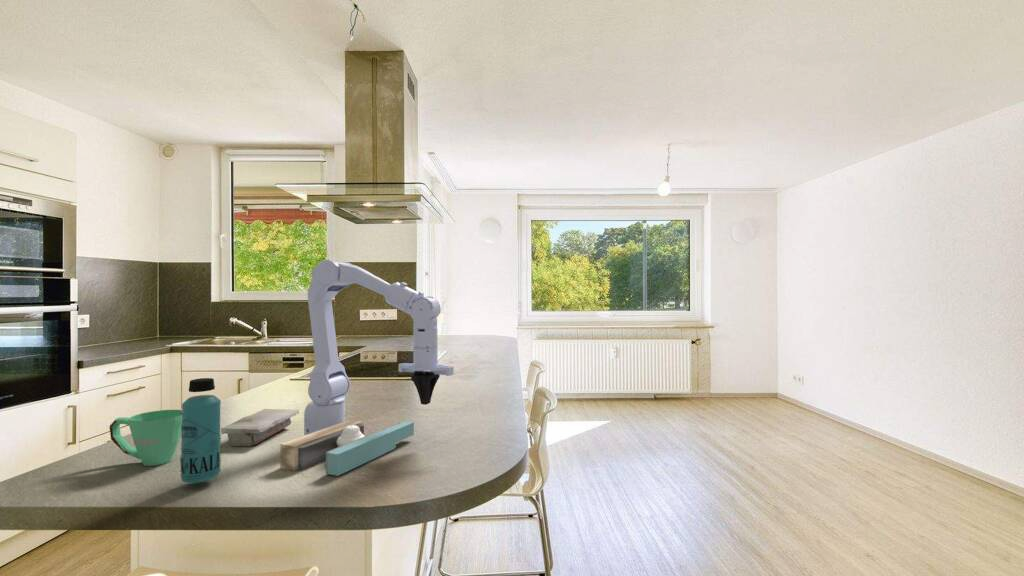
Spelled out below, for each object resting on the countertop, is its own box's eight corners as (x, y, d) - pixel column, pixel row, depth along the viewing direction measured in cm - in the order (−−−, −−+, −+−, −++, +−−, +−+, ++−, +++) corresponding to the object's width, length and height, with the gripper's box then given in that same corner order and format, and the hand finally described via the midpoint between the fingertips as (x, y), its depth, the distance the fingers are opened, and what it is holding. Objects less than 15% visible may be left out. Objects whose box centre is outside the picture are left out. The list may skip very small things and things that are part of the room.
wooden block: (280, 468, 99) (280, 443, 99) (349, 440, 117) (349, 420, 117) (298, 472, 97) (298, 447, 97) (366, 443, 115) (366, 422, 115)
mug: (195, 453, 108) (195, 409, 108) (165, 470, 98) (165, 421, 98) (128, 454, 107) (129, 409, 108) (91, 471, 98) (91, 421, 98)
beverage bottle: (192, 478, 94) (192, 375, 94) (228, 477, 94) (228, 375, 94) (171, 492, 87) (172, 382, 87) (210, 491, 88) (210, 381, 88)
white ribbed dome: (336, 462, 102) (336, 429, 102) (336, 453, 108) (336, 422, 108) (366, 459, 104) (366, 427, 104) (365, 450, 110) (365, 419, 110)
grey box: (218, 448, 112) (259, 449, 112) (218, 427, 112) (259, 428, 112) (264, 425, 130) (300, 426, 130) (264, 407, 130) (299, 408, 130)
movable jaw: (325, 473, 95) (325, 452, 95) (403, 438, 118) (403, 421, 118) (337, 476, 94) (337, 454, 94) (413, 439, 117) (413, 422, 117)
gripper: (390, 347, 115) (390, 404, 115) (442, 350, 109) (442, 410, 109) (408, 344, 121) (408, 398, 121) (458, 347, 115) (458, 403, 115)
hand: (425, 403), depth 115 cm, fingers closed
